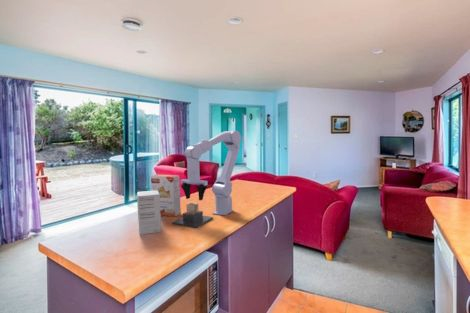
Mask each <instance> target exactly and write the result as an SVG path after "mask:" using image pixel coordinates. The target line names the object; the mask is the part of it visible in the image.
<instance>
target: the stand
mask: <svg viewBox="0 0 470 313" xmlns="http://www.w3.org/2000/svg"><path fill="white" fill-rule="evenodd" d="M212 220H214V216H207V215H204V214H203V211H202V210H199V212H198V213H196V214H190V213H187V211H185V212H183V213H182V217H180V218H178V219H176V220H173V221H171V224H172V225H175V226H182V227H187V228H193V229H198V228H200V227H202V226H203V225H205V224H207V223H208V222H210V221H212Z"/></svg>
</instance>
